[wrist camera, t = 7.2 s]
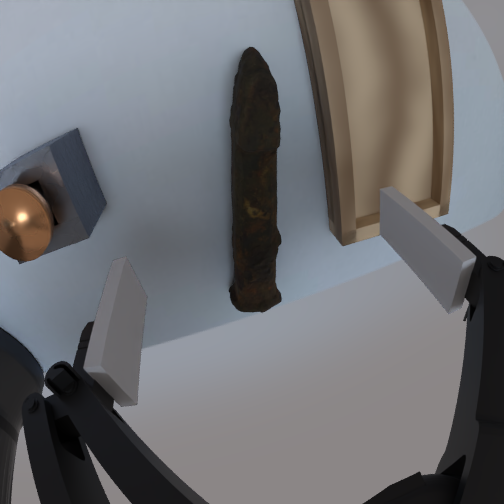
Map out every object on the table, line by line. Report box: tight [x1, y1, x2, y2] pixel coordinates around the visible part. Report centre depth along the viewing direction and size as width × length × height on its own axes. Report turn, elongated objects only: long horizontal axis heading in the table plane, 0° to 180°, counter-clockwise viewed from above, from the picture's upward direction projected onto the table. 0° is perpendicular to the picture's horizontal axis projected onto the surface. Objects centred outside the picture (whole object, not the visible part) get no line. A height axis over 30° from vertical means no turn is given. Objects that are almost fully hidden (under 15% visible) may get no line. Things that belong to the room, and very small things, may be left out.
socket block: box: [0, 128, 107, 264], centre depth 17 cm, size 6×6×5 cm
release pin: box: [0, 180, 54, 261], centre depth 16 cm, size 4×4×7 cm
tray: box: [294, 0, 454, 246], centre depth 19 cm, size 11×20×3 cm, turn 12°
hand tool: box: [229, 47, 282, 312], centre depth 21 cm, size 19×4×5 cm, turn 179°
